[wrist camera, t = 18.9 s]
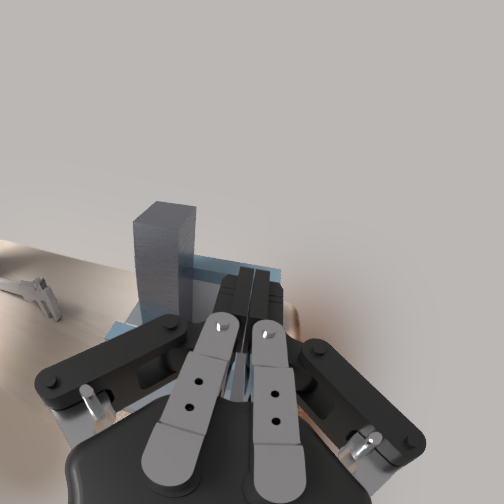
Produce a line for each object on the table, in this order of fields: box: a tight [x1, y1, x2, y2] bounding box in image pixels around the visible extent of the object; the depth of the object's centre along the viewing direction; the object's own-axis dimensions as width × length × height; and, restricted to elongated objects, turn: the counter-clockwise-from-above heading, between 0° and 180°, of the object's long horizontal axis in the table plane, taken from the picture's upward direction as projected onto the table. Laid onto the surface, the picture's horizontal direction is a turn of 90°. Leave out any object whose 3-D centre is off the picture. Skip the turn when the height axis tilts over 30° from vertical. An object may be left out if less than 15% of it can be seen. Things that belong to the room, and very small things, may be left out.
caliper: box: [0, 278, 61, 321], centre depth 30 cm, size 20×1×6 cm, turn 80°
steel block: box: [133, 201, 196, 324], centre depth 28 cm, size 4×5×15 cm
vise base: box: [122, 255, 281, 413], centre depth 28 cm, size 17×16×9 cm
